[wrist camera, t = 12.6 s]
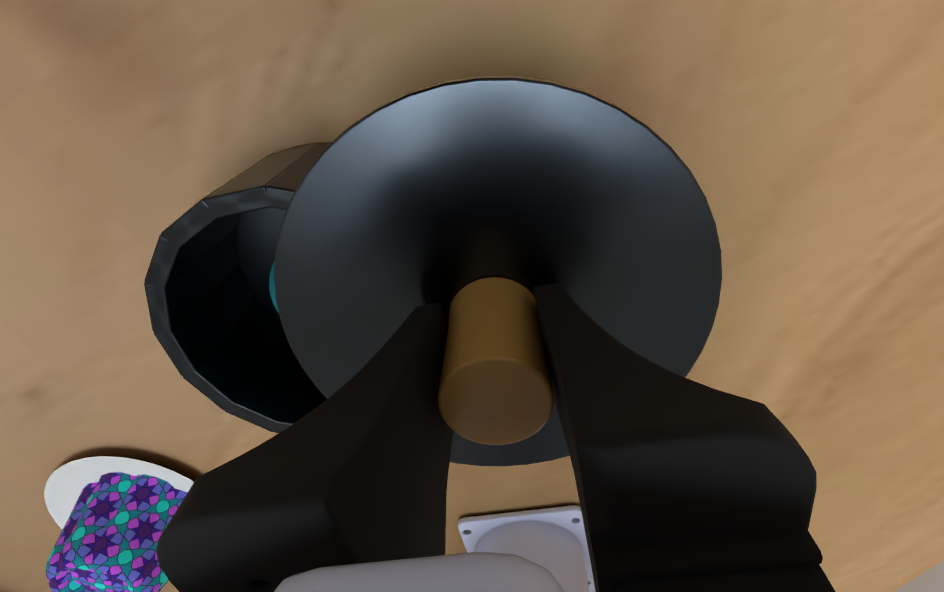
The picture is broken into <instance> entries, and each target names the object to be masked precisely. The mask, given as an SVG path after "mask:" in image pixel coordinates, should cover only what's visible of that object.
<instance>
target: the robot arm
mask: <svg viewBox="0 0 944 592" xmlns="http://www.w3.org/2000/svg"><path fill="white" fill-rule="evenodd" d="M534 293H535V300H536V306H537V311H538V317H539V323H540V329H541V334H542V337H543V341H544V345H545V349H546V353H547V357H548V363H549V369H550V375H551V381H552V387H553V393H554V401H555V404H556V408H557V411H558V415H559V418H560V422H561V425H562V429H563V433H564V436H565V440H566V443H567V447H568V450H569V454H570V457H571V461H572V465H573V470H574V474H575V479H576V485H577V490H578V496H579V501H580V507H579V506H576V505H572V506H563V507H554V508H545V509H536V510H528V511H519V512H510V513H501V514H492V515H483V516H474V517H465V518H461V519H460V520H459V521H458V529H459V532H460V535H461V537H462V540H463V543H464V546H465V548H466V551H467V553H461V554H451V555H445V529H446V490H447V478H448V469H449V462H450V454H451V447H452V440H453V432H454V431H453V430H452V429H451V428H450V427H449V426H448V425H447V424H446V422H445V421H444V419H443V418H442V416H441V413H440V411H439V407H438V390H439V383H440V375H441V368H442V360H443V353H444V345H445V338H446V330H447V326H446V322H445V319H444V315H443V312H442V308H441V305H440V303H435V304H429V305H423V306H417V307H416V308H415V309H414V310H413V311H412V312H411V314H410V315H409V316H408V317H407V318H406V320H405V321H404V322H403V323H402V324H401V326H400V327H399V328H398V329H397V330H396V332H395V333H394V334H393V335H392V336H391V337H390V338H389V340H388V341H387V342H386V343H385V344H384V345H383V347H382V348H381V349H380V350H379V351H378V352H377V353H376V354H375V355H374V356H373V357H372V358H371V359H370V360H369V361H368V362H367V363H366V364H365V366H364V367H363V368H362V369H361V370H360V371H359V372H358V373H357V374H356V375H355V376H354V377H353V378H351V379H350V380H349V381H348V382H347V383H346V384H345V385H344V386H343V387H341V388H340V389H339V390H338V391H337V392H335V393H334V394H333V395H332V396H331V397H330V398H328V399H327V400H326V401H325V402H323V403H322V404H320V405H319V406H318V407H316V408H315V409H314V410H312V411H311V412H309V413H308V414H307V415H305V416H304V417H303V418H301V419H300V420H298V421H297V422H296V423H294V424H293V425H291V426H290V427H288V428H287V429H285V430H283V431H282V432H280V433H279V434H277V435H276V436H274V437H272V438H271V439H269V440H267V441H266V442H264V443H262V444H261V445H259V446H257V447H255V448H254V449H252V450H250V451H248V452H246V453H245V454H243V455H241V456H239V457H237V458H235V459H233V460H231V461H229V462H227V463H225V464H223V465H221V466H219V467H217V468H215V469H213V470H211V471H209V472H207V473H205V474H203V475H201V476H199V477H197V478H196V480H195V482H194V483H193V485H192V486H191V488H190V490H189V491H188V493H187V494H186V496H185V498H184V499H183V501H182V502H181V504H180V506H179V507H178V509H177V510H176V512H175V514H174V515H173V517H172V518H171V520H170V522H169V523H168V525H167V526H166V528H165V530H164V531H163V533H162V534H161V536H160V538H159V540H158V544H157V548H156V553H157V558H158V562H159V565H160V567H161V569H162V571H163V572H164V574H165V575H166V576H167V578H168V579H169V581H170V582H171V583H172V584H173V585H174V586H175V587H176V588H177V590H178V591H179V592H595V590H596V592H835V590H834V589H833V587H832V585H831V583H830V582H829V580H828V578H827V577H826V575H825V573H824V572H823V570H822V568H821V567H820V565H819V564H820V563H822V559H823V558H822V554H821V551H820V549H819V548H818V546H817V544H816V543H815V541H814V540H813V538H812V536H811V535H810V533H809V531H808V527H809V522H810V518H811V513H812V508H813V503H814V498H815V493H816V471H815V469H814V467H813V465H812V463H811V461H810V459H809V457H808V456H807V454H806V453H805V452H804V450H803V449H802V447H801V446H800V445H799V443H798V442H797V441H796V439H795V438H794V437H793V436H792V434H791V433H790V432H789V431H788V430H787V429H786V427H785V426H784V425H783V424H782V423H781V422H780V421H779V420H778V419H777V418H776V417H775V416H774V415H773V413H772V412H771V411H770V410H769V409H768V408H767V407H766V406H765V405H764V404H762V403H759V402H756V401H752V400H749V399H746V398H742V397H739V396H735V395H732V394H729V393H725V392H722V391H719V390H716V389H713V388H710V387H707V386H705V385H702V384H700V383H697V382H694V381H692V380H689V379H687V378H684V377H682V376H680V375H678V374H675V373H673V372H671V371H669V370H667V369H665V368H663V367H661V366H659V365H657V364H655V363H653V362H651V361H649V360H647V359H646V358H644V357H642V356H640V355H639V354H637V353H635V352H634V351H632V350H631V349H629V348H628V347H626V346H625V345H623V344H622V343H621V342H619V341H618V340H617V339H615V338H614V337H613V336H612V335H610V334H609V333H608V332H607V331H605V330H604V329H603V328H602V327H601V326H599V325H598V324H597V323H596V322H595V321H594V320H593V319H592V318H591V317H590V316H589V315H588V314H586V313H585V312H584V311H583V310H582V309H581V308H580V307H579V305H578V304H577V303H576V302H575V301H574V300H573V299H572V298H571V296H570V295H569V294H568V293H567V291H566V290H565V289H564V287H563V286H562V285H560V284H559V283H554V284H548V285H542V286H536V287H534ZM593 579H594V580H593ZM594 585H595V586H594Z"/></svg>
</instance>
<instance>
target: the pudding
mask: <svg viewBox="0 0 944 592" xmlns="http://www.w3.org/2000/svg"><path fill="white" fill-rule="evenodd" d="M193 483H194V482H193V481H192V480H190V479H189V478H187V477H184V476H182V475H180V474H178V473H176V472H174V471H172V470H169V469H167V468H164V467H161V466H159V465H156V464H152V463H148V462H144V461H141V460H137V459H130V458H123V457H109V456H98V457H88V458H82V459H79V460H75V461H71V462H69V463H67V464H65V465H63V466H61V467H59V468H58V469H57V470H56V471H54V472H53V473H52V474H51V476H50V477H49V479H48V480H47V482H46V485H45V490H44V496H45V503H46V506H47V508H48V511H49V513H50V514H51V516H52V517H53V519H54V521H55V522H56V523H57V524H58V525H59V527H60V528H61V529H62V532H61V534H60V536H59V538H58V540H57V542H56V544H55V546H54V548H53V550H52V552H51V554H50V556H49V558H48V561H47V566H46V576H47V578H48V579H49V586H50V588H51V590H52V591H53V592H159V591H160V590H161V589H162V587H163V586H164V585H165V584H166V583H167V582H168V581H169V579H168V578H167V576H166V575H165V574H164V572H163V571H162V569H161V567H160V565H159V562H158V558H157V553H156V548H157V544H158V540H159V538H160V536H161V534H162V533H163V531H164V530H165V528H166V526H167V525H168V523H169V522H170V520H171V518H172V517H173V515H174V514H175V512H176V510H177V509H178V507H179V506H180V504H181V502H182V501H183V499H184V498H185V496H186V494H187V493H188V491H189V490H190V488H191V486H192V485H193Z"/></svg>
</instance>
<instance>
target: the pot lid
mask: <svg viewBox="0 0 944 592" xmlns="http://www.w3.org/2000/svg"><path fill="white" fill-rule="evenodd" d="M721 281H722V267H721V249H720V244H719V238H718V233H717V228H716V224H715V221H714V218H713V216H712V213H711V210H710V207H709V205H708V202H707V199H706V197H705V195H704V193H703V192H702V190H701V188H700V186H699V185H698V183H697V181H696V179H695V178H694V176H693V174H692V172H691V171H690V170H689V168H688V167H687V166H686V165H685V163H684V162H683V161H682V160H681V159H680V157H679V156H678V155H677V154H676V152H675V151H674V150H673V149H672V147H671V146H669V145H668V144H667V143H666V142H665V141H664V140H663V139H662V138H660V137H659V136H658V135H657V134H656V133H655V132H654V131H653V130H652V129H650V128H649V127H648V126H647V125H646V124H644V123H643V122H642V121H640V120H638V119H637V118H635V117H634V116H632V115H631V114H629V113H628V112H626V111H625V110H623V109H621V108H620V107H618V106H617V105H615V104H614V103H611V102H609V101H607V100H605V99H602V98H600V97H598V96H596V95H594V94H591V93H589V92H587V91H585V90H582V89H579V88H575V87H572V86H568V85H565V84H561V83H558V82H554V81H551V80H544V79H537V78H529V77H522V76H475V77H469V78H462V79H456V80H449V81H443V82H440V83H437V84H433V85H430V86H427V87H424V88H420V89H417V90H414V91H411V92H408V93H406V94H404V95H402V96H400V97H398V98H396V99H394V100H391V101H389V102H387V103H385V104H383V105H381V106H379V107H378V108H376V109H375V110H373V111H372V112H370V113H369V114H367V115H366V116H364V117H363V118H361V119H360V120H358V121H357V122H355V123H354V124H352V125H351V126H350V127H349V128H348V129H346V130H345V131H344V132H343V133H342V134H341V135H340V136H339V137H338V138H336V139H335V140H334V141H333V142H332V143H331V144H330V145H329V146H328V147H327V148H325V150H324V151H323V152H322V153H321V154H320V156H319V157H318V158H317V159H316V161H315V162H314V163H313V164H312V166H311V167H310V168H309V169H308V171H307V172H306V173H305V175H304V177H303V178H302V180H301V182H300V183H299V185H298V187H297V189H296V190H295V192H294V194H293V196H292V197H291V199H290V202H289V205H288V207H287V210H286V212H285V215H284V218H283V220H282V223H281V226H280V231H279V236H278V240H277V245H276V250H275V265H274V283H275V294H276V303H277V307H278V311H279V315H280V319H281V323H282V327H283V329H284V332H285V334H286V337H287V339H288V342H289V344H290V347H291V349H292V351H293V352H294V354H295V356H296V358H297V360H298V361H299V363H300V365H301V367H302V368H303V370H304V371H305V373H306V374H307V375H308V377H309V378H310V379H311V381H312V382H313V383H314V385H315V386H316V387H317V388H318V389H319V391H320V392H321V393H322V394H323V395H324V396H325V397H326V398H327V399H328V398H330V397H331V396H332V395H333V394H334V393H335V392H337V391H338V390H339V389H340V388H341V387H343V386H344V385H345V384H346V383H347V382H348V381H349V380H350V379H351V378H353V377H354V376H355V375H356V374H357V373H358V372H359V371H360V370H361V369H362V368H363V367H364V366H365V364H366V363H367V362H368V361H369V360H370V359H371V358H372V357H373V356H374V355H375V354H376V353H377V352H378V351H379V350H380V349H381V348H382V347H383V345H384V344H385V343H386V342H387V341H388V340H389V338H390V337H391V336H392V335H393V334H394V333H395V332H396V330H397V329H398V328H399V327H400V326H401V324H402V323H403V322H404V321H405V320H406V318H407V317H408V316H409V315H410V314H411V312H412V311H413V310H414V309H415V308H416V307H417V306H423V305H429V304H435V303H440V305H441V308H442V312H443V315H444V319H445V322H446V326H447V330H446V338H445V345H444V353H443V360H442V368H441V375H440V383H439V390H438V407H439V411H440V413H441V416H442V418H443V419H444V421H445V422H446V424H447V425H448V426H449V427H450V428H451V429H452V430H453V431H454V432H453V440H452V447H451V454H450V462H453V463H459V464H468V465H477V466H513V465H527V464H533V463H539V462H545V461H551V460H555V459H558V458H562V457H566V456H570V454H569V450H568V447H567V443H566V440H565V436H564V433H563V429H562V425H561V422H560V418H559V415H558V411H557V408H556V404H555V401H554V393H553V387H552V381H551V375H550V369H549V363H548V357H547V353H546V349H545V345H544V341H543V337H542V334H541V329H540V323H539V317H538V311H537V306H536V300H535V293H534V287H536V286H542V285H548V284H554V283H559V284H560V285H562V286H563V287H564V289H565V290H566V291H567V293H568V294H569V295H570V296H571V298H572V299H573V300H574V301H575V302H576V303H577V304H578V305H579V307H580V308H581V309H582V310H583V311H584V312H585V313H586V314H588V315H589V316H590V317H591V318H592V319H593V320H594V321H595V322H596V323H597V324H598V325H599V326H601V327H602V328H603V329H604V330H605V331H607V332H608V333H609V334H610V335H612V336H613V337H614V338H615V339H617V340H618V341H619V342H621V343H622V344H623V345H625V346H626V347H628V348H629V349H631V350H632V351H634V352H635V353H637V354H639V355H640V356H642V357H644V358H646V359H647V360H649V361H651V362H653V363H655V364H657V365H659V366H661V367H663V368H665V369H667V370H669V371H671V372H673V373H675V374H678V375H680V376H682V377H684V378H685V377H686V376H687V374H688V373H689V372H690V370H691V368H692V367H693V365H694V363H695V362H696V360H697V359H698V357H699V355H700V354H701V352H702V350H703V348H704V345H705V343H706V341H707V339H708V336H709V334H710V332H711V329H712V326H713V323H714V319H715V316H716V312H717V308H718V305H719V297H720V289H721Z"/></svg>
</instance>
